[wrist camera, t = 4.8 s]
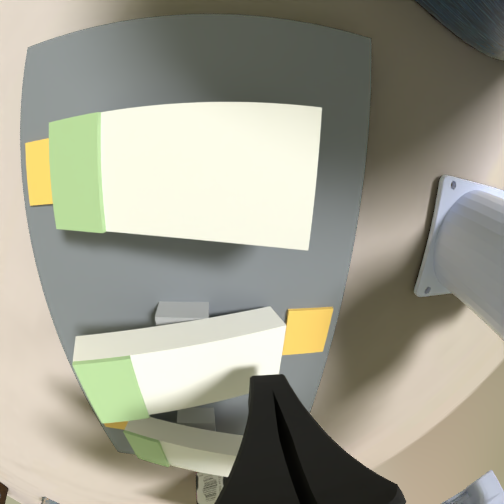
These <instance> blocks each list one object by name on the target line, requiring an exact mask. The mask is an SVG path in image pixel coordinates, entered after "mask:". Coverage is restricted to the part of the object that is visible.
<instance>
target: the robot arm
mask: <svg viewBox="0 0 504 504" xmlns="http://www.w3.org/2000/svg"><path fill="white" fill-rule="evenodd" d="M451 183H452V186H451ZM426 288H427V289H426ZM414 293H415V294H416V295H417V296H418V297H425V296H434V295H442V294H450V293H452V294H454V295H455V296H456V297H457V298H458V299H459V300H461V301H462V302H463V303H464V304H465V305H466V306H467V307H468V308H470V309H471V310H472V311H473V312H474V313H475V314H476V315H477V316H478V317H479V318H480V319H482V320H483V321H484V322H485V323H486V324H487V325H488V326H489V327H490V328H491V329H492V330H493V331H494V332H495V333H496V334H497V335H498V336H499V337H500V338H501V339H502V340H503V341H504V190H500V189H497V188H494V187H490V186H487V185H484V184H480V183H476V182H473V181H469V180H465V179H461V178H457V177H453V176H449V175H443V176H442V177H441V178H440V181H439V187H438V193H437V199H436V204H435V209H434V214H433V219H432V224H431V228H430V233H429V237H428V241H427V245H426V249H425V253H424V257H423V261H422V264H421V268H420V271H419V275H418V278H417V282H416V285H415V288H414ZM248 411H249V413H248V419H247V423H246V427H245V431H244V435H243V438H242V442H241V445H240V448H239V451H238V454H237V456H236V459H235V461H234V464H233V466H232V469H231V471H230V474H229V476H228V478H227V480H226V482H225V484H224V486H223V488H222V490H221V492H220V494H219V496H218V498H217V500H216V501H215V503H214V504H405V503H406V500H405V498H404V495H403V494H402V491H401V490H400V488H399V487H398V485H397V484H395V483H393V482H391V481H389V480H387V479H385V478H384V477H382V476H380V475H378V474H376V473H375V472H373V471H372V470H370V469H369V468H367V467H365V466H364V465H363V464H361V463H360V462H359V461H357V460H356V459H355V458H353V457H352V456H351V455H349V454H348V453H347V452H346V451H345V450H343V449H342V448H341V447H340V446H339V445H338V444H337V443H336V442H335V441H334V440H333V439H331V437H330V436H329V435H328V434H327V433H326V432H325V431H324V430H323V429H322V428H321V427H320V426H319V424H318V423H317V422H316V421H315V420H314V418H313V417H312V416H311V415H310V413H309V412H308V411H307V409H306V408H305V407H304V405H303V404H302V403H301V401H300V400H299V398H298V397H297V395H296V394H295V392H294V391H293V389H292V387H291V386H290V384H289V382H288V381H287V379H286V377H285V375H283V374H274V375H256V376H252V377H250V384H249V398H248ZM441 504H504V491H503V489H502V487H501V485H500V483H499V481H498V480H497V478H496V476H495V474H494V473H493V471H492V470H490V471H488V472H487V473H486V474H485V475H483V476H482V477H480V478H479V479H477V480H476V481H475V482H473V483H472V484H471V485H469V486H468V487H467V488H466V489H464V490H463V491H461V492H460V493H458V494H456V495H455V496H453V497H452V498H450V499H448V500H446V501H445V502H443V503H441Z"/></svg>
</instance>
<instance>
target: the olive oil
mask: <svg viewBox="0 0 504 504" xmlns="http://www.w3.org/2000/svg"><path fill="white" fill-rule="evenodd" d="M7 492H8V488H7V487H6V486H5V485H3V484H2V483H0V504H5V500H6V496H7Z"/></svg>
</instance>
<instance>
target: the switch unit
mask: <svg viewBox="0 0 504 504" xmlns="http://www.w3.org/2000/svg"><path fill="white" fill-rule="evenodd" d="M370 99H371V38H368V37H365V36H361V35H358V34H354V33H351V32H347V31H343V30H339V29H335V28H331V27H326V26H321V25H317V24H311V23H306V22H300V21H294V20H288V19H280V18H272V17H263V16H251V15H235V14H185V15H169V16H158V17H149V18H141V19H134V20H127V21H121V22H116V23H110V24H105V25H101V26H96V27H92V28H88V29H84V30H80V31H76V32H73V33H69V34H66V35H62V36H59V37H56V38H53V39H50V40H47V41H44V42H41V43H38V44H36V45H33V46H30V47H28V50H27V56H26V62H25V69H24V77H23V87H22V99H21V121H20V147H21V169H22V182H23V192H24V200H25V208H26V215H27V221H28V227H29V233H30V238H31V243H32V248H33V253H34V257H35V262H36V266H37V270H38V274H39V278H40V281H41V285H42V288H43V292H44V295H45V299H46V302H47V305H48V308H49V311H50V314H51V317H52V320H53V323H54V326H55V328H56V331H57V334H58V336H59V339H60V342H61V344H62V347H63V349H64V351H65V354H66V356H67V359H68V361H69V363H70V365H71V368H72V370H73V372H74V374H75V376H76V379H77V381H78V383H79V385H80V387H81V389H82V391H83V393H84V395H85V397H86V399H87V401H88V402H89V404H90V406H91V408H92V410H93V412H94V413H95V415H96V417H97V419H98V420H99V422H100V424H101V426H102V427H103V429H104V431H105V432H106V434H107V435H108V437H109V439H110V440H111V442H112V443H113V445H114V446H115V448H116V449H117V451H118V452H122V453H129V454H135V452H134V450H133V449H132V447H131V445H130V443H129V442H128V440H127V438H126V436H125V434H124V433H123V431H124V429H125V427H126V425H127V423H128V421H123V422H114V423H103V424H102V423H101V421H100V419H99V417H98V416H97V414H96V412H95V410H94V408H93V407H92V405H91V403H90V401H89V399H88V397H87V395H86V393H85V391H84V389H83V387H82V385H81V383H80V381H79V379H78V377H77V374H76V372H75V370H74V368H73V366H72V363H73V354H74V346H75V338H76V336H83V335H93V334H102V333H110V332H118V331H126V330H134V329H141V328H148V327H155V326H162V325H169V324H175V323H181V322H188V321H194V320H200V319H205V318H211V317H217V316H222V315H228V314H233V313H238V312H244V311H249V310H254V309H259V308H264V307H269V306H270V307H271V308H272V309H273V310H274V311H275V313H276V314H277V315H278V316H279V317H280V318H281V320H282V321H283V322H284V323H285V324H286V331H285V338H284V345H283V351H282V357H281V364H280V370H279V374H283V375H285V377H286V379H287V381H288V382H289V384H290V386H291V387H292V389H293V391H294V392H295V394H296V395H297V397H298V398H299V400H300V401H301V403H302V404H303V405H304V407H305V408H306V409H307V411H308V412H309V413H310V411H311V408H312V405H313V402H314V399H315V396H316V393H317V390H318V387H319V383H320V380H321V377H322V374H323V370H324V367H325V364H326V360H327V357H328V353H329V350H330V346H331V343H332V339H333V335H334V331H335V327H336V324H337V320H338V316H339V311H340V307H341V303H342V299H343V294H344V290H345V285H346V281H347V276H348V271H349V266H350V261H351V256H352V251H353V246H354V240H355V234H356V229H357V222H358V216H359V210H360V203H361V196H362V188H363V181H364V172H365V164H366V154H367V143H368V131H369V117H370ZM196 102H258V103H278V104H292V105H303V106H313V107H321V108H322V115H321V130H320V144H319V156H318V168H317V178H316V188H315V198H314V207H313V216H312V225H311V233H310V241H309V249H308V251H307V250H297V249H287V248H277V247H267V246H257V245H247V244H237V243H226V242H216V241H205V240H195V239H184V238H174V237H163V236H152V235H141V234H130V233H119V232H108V231H106V232H104V233H94V232H84V231H73V230H62V229H56V223H55V216H54V209H53V200H52V190H51V179H50V163H49V122H53V121H57V120H62V119H66V118H70V117H75V116H80V115H85V114H90V113H96V112H106V111H112V110H119V109H126V108H134V107H142V106H152V105H163V104H177V103H196ZM248 398H249V394H245V395H241V396H238V397H234V398H230V399H226V400H222V401H218V402H213V403H209V404H205V405H200V406H195V407H190V408H185V409H180V410H175V411H169V412H163V413H157V414H151V415H149V417H152V418H156V419H160V420H164V421H168V422H172V423H176V424H180V425H185V426H190V427H195V428H200V429H205V430H210V431H216V432H222V433H229V434H236V435H244V431H245V427H246V423H247V419H248V413H249V411H248Z"/></svg>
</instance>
